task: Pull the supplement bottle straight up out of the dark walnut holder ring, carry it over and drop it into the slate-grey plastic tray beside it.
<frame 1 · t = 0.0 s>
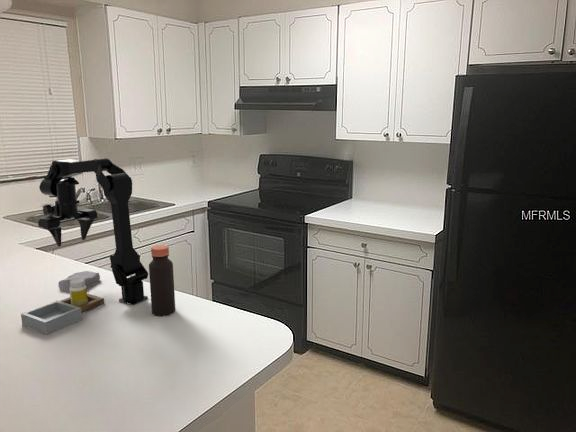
hand: (71, 243, 161), 15 cm above the counter, tool pointing down, fingers open, 9 cm apart
tray: (52, 322, 134), on the counter
stone block: (78, 286, 164), on the counter
holder ring: (79, 306, 145), on the counter
vinegar: (163, 312, 141), on the counter
supplement bottle: (79, 307, 145), resting in holder ring
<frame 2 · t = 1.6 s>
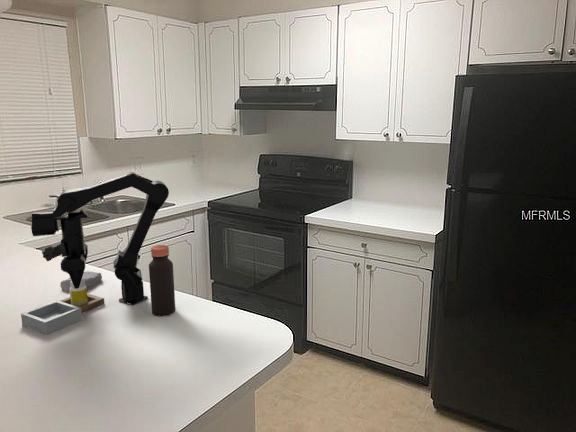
hand: (77, 283, 144), 8 cm above the counter, tool pointing down, fingers open, 9 cm apart
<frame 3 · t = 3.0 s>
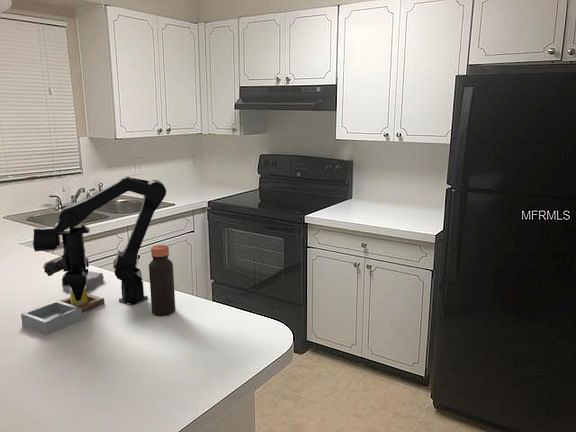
hand: (79, 297, 144), 3 cm above the counter, tool pointing down, fingers closed on supplement bottle, 5 cm apart
supplement bottle: (79, 307, 145), resting in holder ring, touching gripper
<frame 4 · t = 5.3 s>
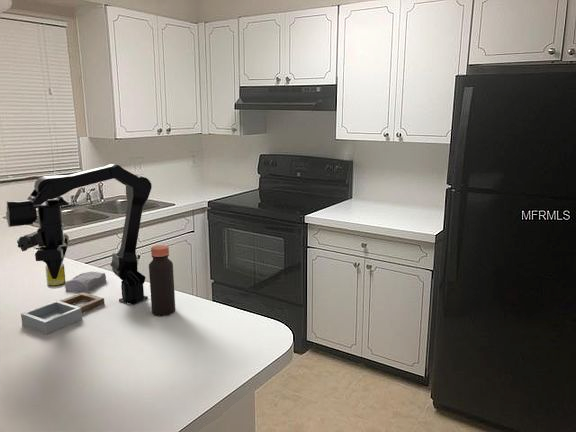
hand: (55, 275, 135), 13 cm above the counter, tool pointing down, fingers closed on supplement bottle, 5 cm apart
supplement bottle: (56, 286, 136), point 9 cm above the counter, touching gripper
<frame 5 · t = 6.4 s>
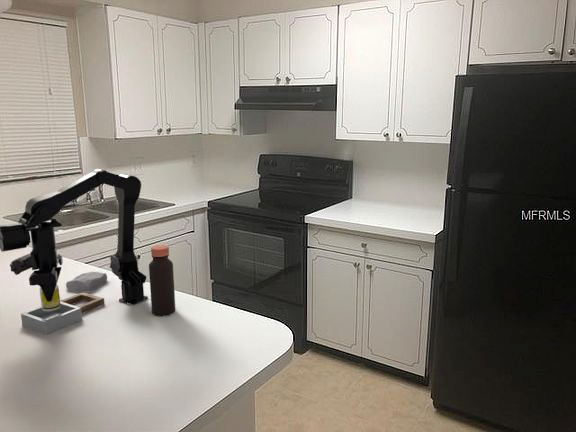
hand: (50, 297, 133), 7 cm above the counter, tool pointing down, fingers closed on supplement bottle, 5 cm apart
supplement bottle: (51, 308, 134), point 4 cm above the counter, touching gripper
when the fingers open (5 cm above the counter, at t = 7.5 s): supplement bottle drops 1 cm, resting on tray.
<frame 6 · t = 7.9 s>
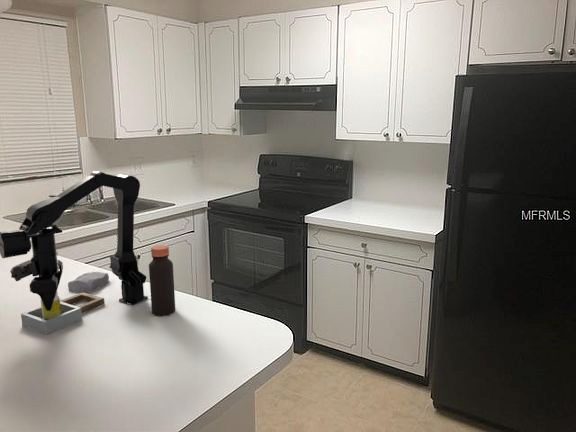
hand: (50, 304, 133), 5 cm above the counter, tool pointing down, fingers open, 9 cm apart
supplement bottle: (52, 319, 134), point 1 cm above the counter, touching tray
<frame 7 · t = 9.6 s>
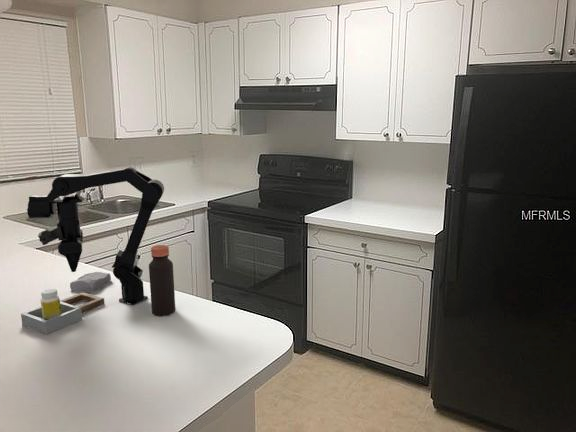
hand: (74, 267, 145), 12 cm above the counter, tool pointing down, fingers open, 9 cm apart
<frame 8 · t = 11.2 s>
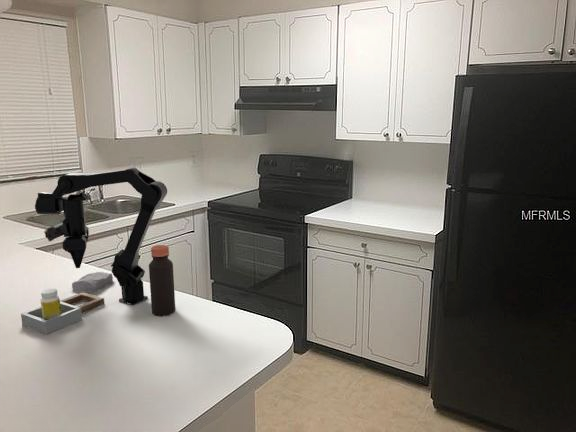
hand: (79, 263, 148), 12 cm above the counter, tool pointing down, fingers open, 9 cm apart
at the end: supplement bottle 0.0 cm off-centre on the tray, point 0.8 cm above the tray's base; the gripper is holding nothing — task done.
